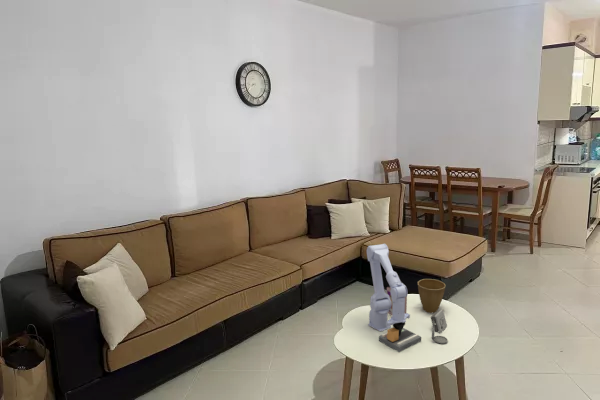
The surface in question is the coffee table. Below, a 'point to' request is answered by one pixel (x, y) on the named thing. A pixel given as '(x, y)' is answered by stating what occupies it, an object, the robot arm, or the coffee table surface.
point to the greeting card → (392, 301)
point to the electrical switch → (439, 321)
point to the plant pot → (431, 294)
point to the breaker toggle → (392, 334)
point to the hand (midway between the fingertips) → (397, 335)
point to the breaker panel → (401, 340)
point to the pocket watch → (438, 338)
